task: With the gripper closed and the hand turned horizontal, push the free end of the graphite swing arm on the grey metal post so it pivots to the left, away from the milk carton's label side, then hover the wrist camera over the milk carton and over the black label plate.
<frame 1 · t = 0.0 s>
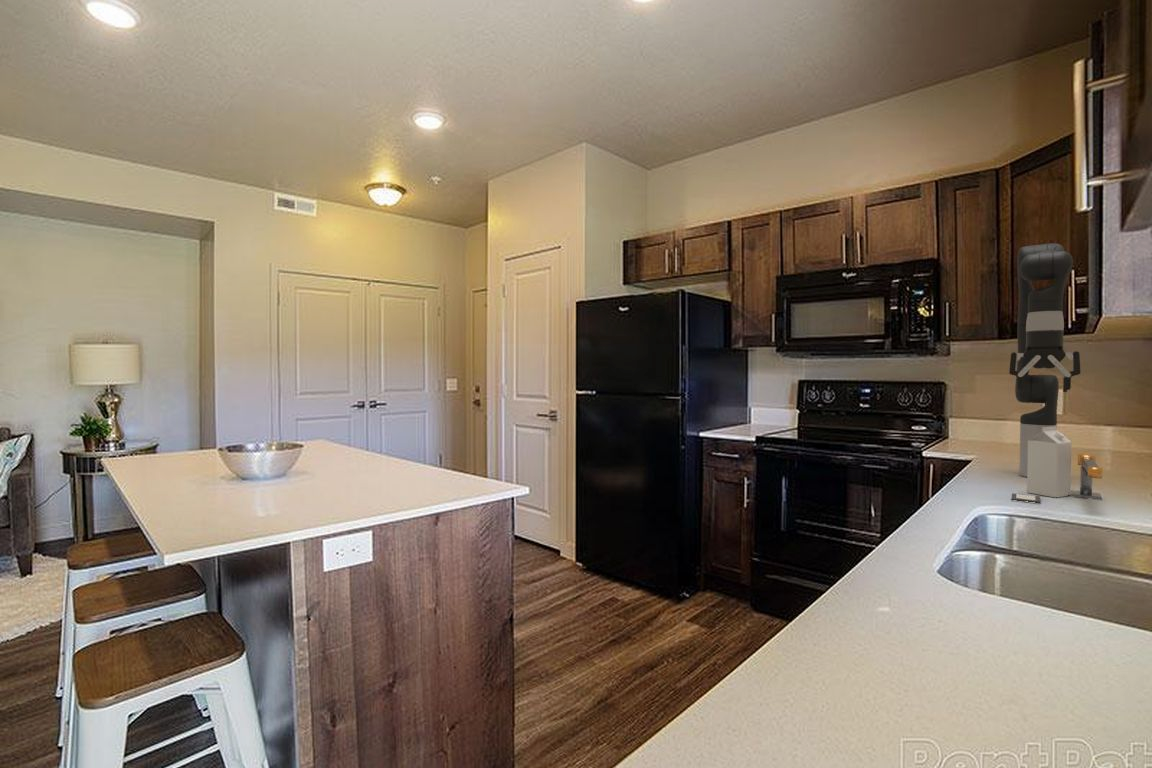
hand: (1043, 391, 147), 29 cm above the counter, tool pointing down, fingers open, 8 cm apart
milk carton: (1048, 495, 158), on the counter
pivot post: (1085, 496, 155), on the counter
label plate: (1025, 499, 152), on the counter
swing arm: (1090, 465, 146), point 10 cm above the counter, hinge at 0.0°
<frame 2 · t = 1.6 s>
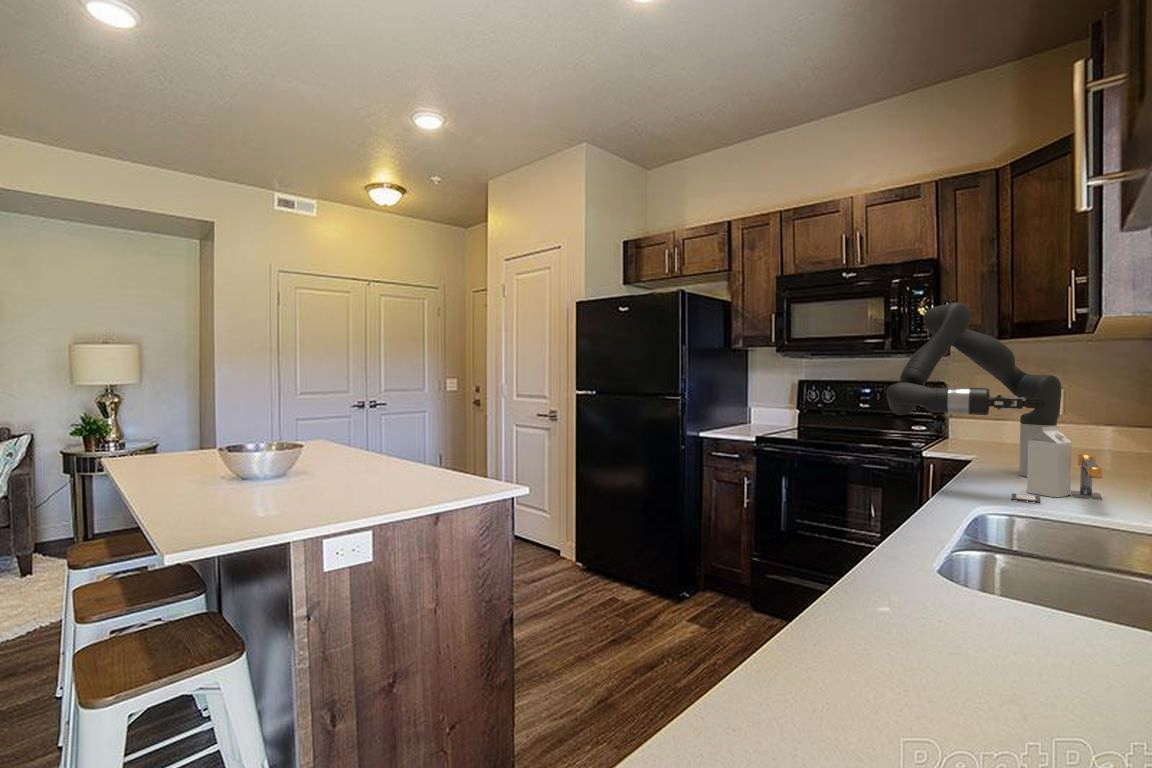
hand: (1044, 403, 147), 26 cm above the counter, tool horizontal, fingers open, 7 cm apart
nothing on the counter moved.
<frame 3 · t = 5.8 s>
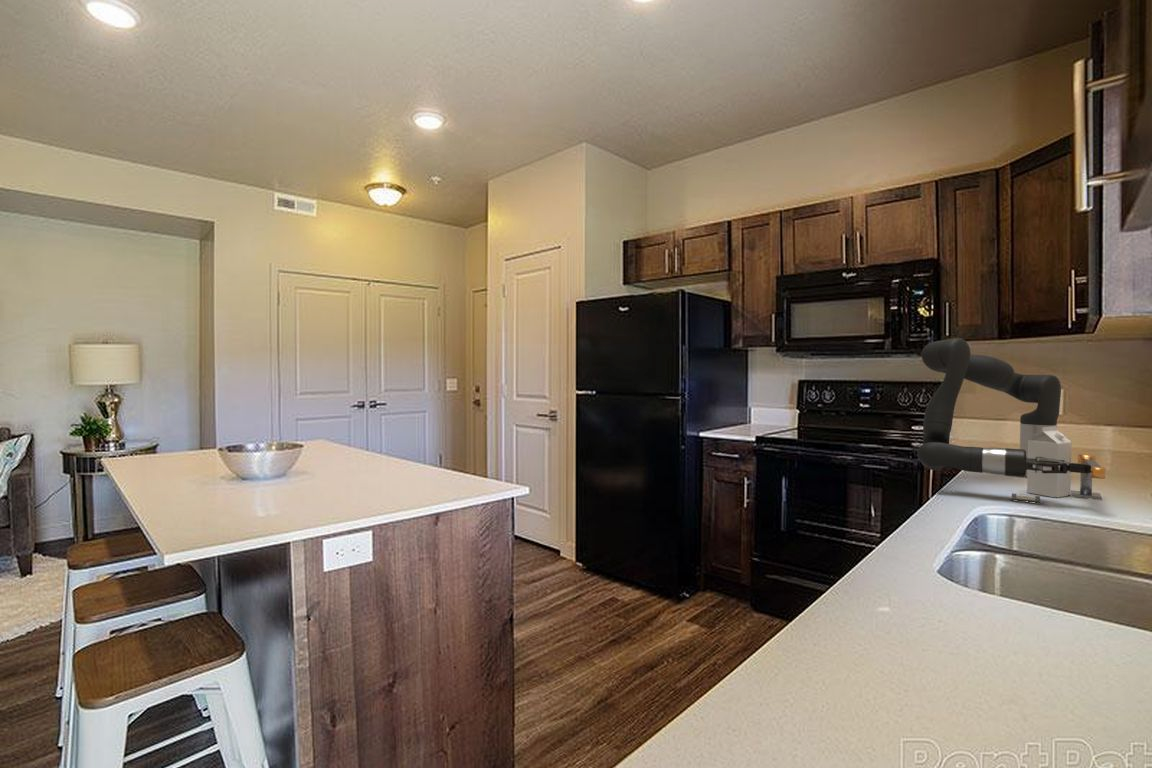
hand: (1089, 468, 142), 10 cm above the counter, tool horizontal, fingers closed
swing arm: (1091, 466, 146), point 10 cm above the counter, hinge at 1.4°, touching gripper
everything else where it was.
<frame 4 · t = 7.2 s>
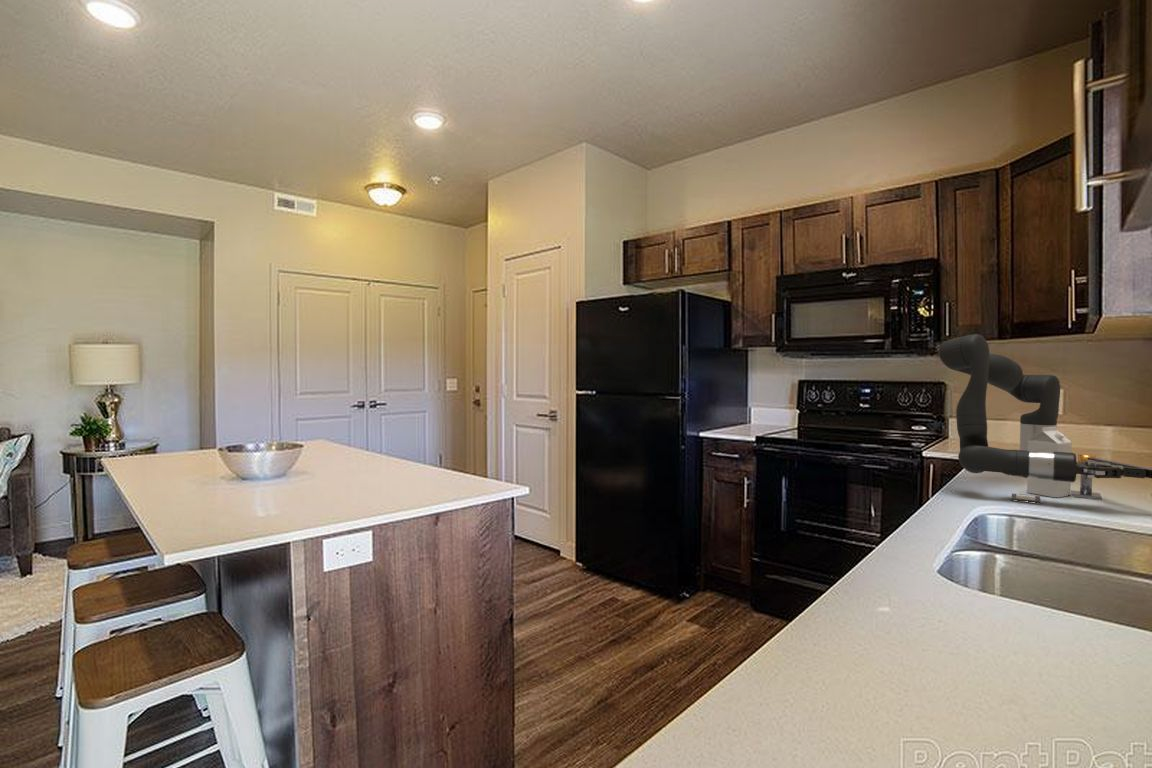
hand: (1145, 473, 136), 10 cm above the counter, tool horizontal, fingers closed
swing arm: (1121, 467, 144), point 10 cm above the counter, hinge at 32.6°, touching gripper
everything else where it was.
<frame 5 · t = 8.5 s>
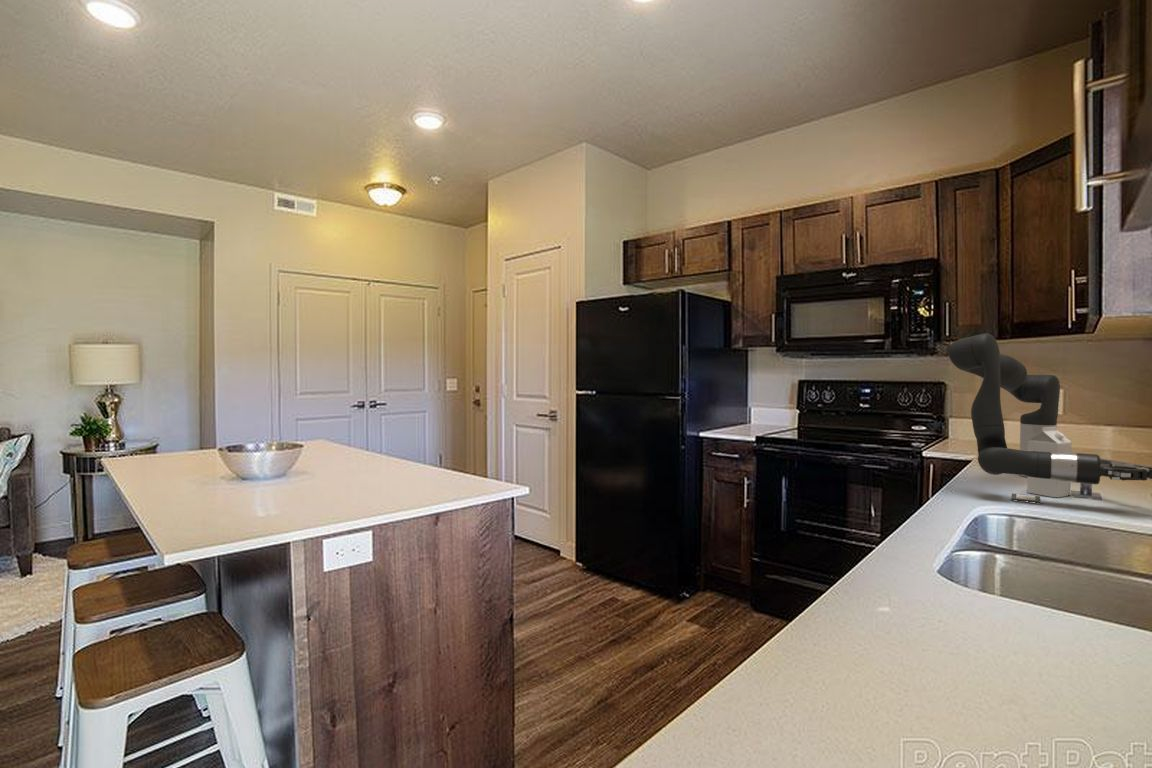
swing arm: (1129, 467, 144), point 10 cm above the counter, hinge at 42.5°, touching gripper
everything else where it was.
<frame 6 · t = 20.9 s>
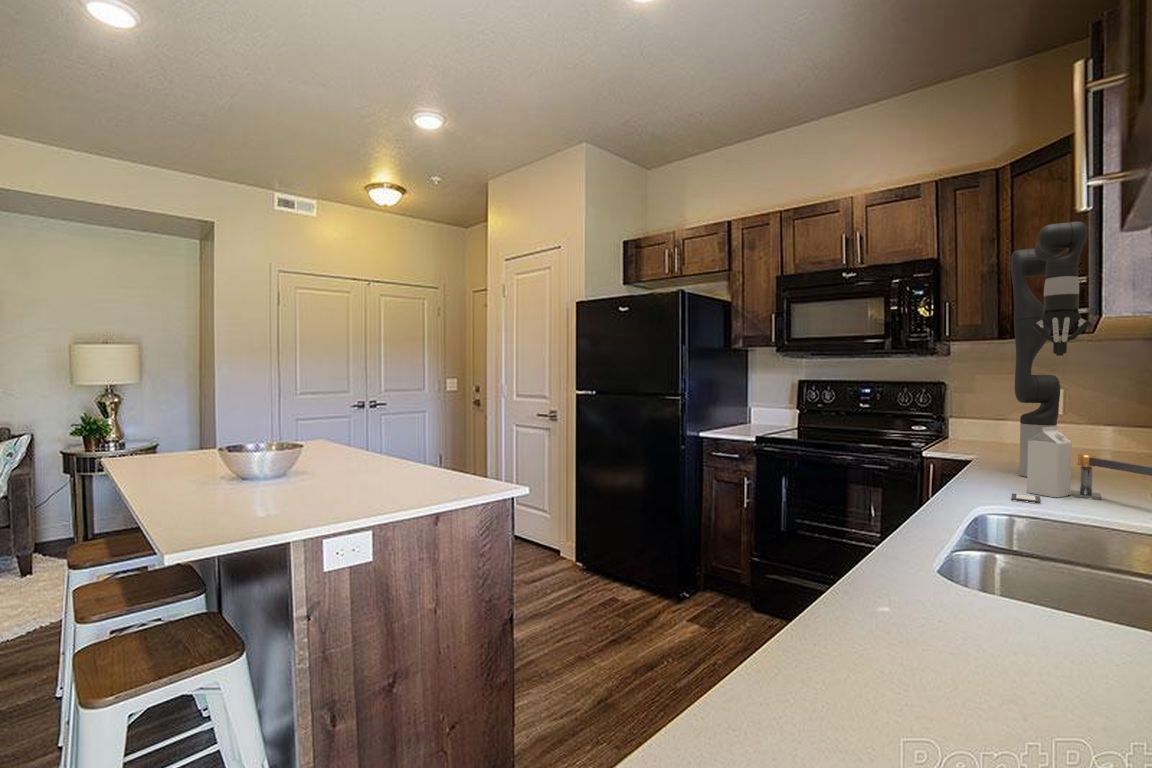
hand: (1059, 355, 160), 39 cm above the counter, tool pointing down, fingers closed
swing arm: (1129, 467, 144), point 10 cm above the counter, hinge at 42.5°
everything else where it was.
at the end: swing arm at +42° (first picture: +0°); milk carton moved 0.2 cm from its start; milk carton tilted 0° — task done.
